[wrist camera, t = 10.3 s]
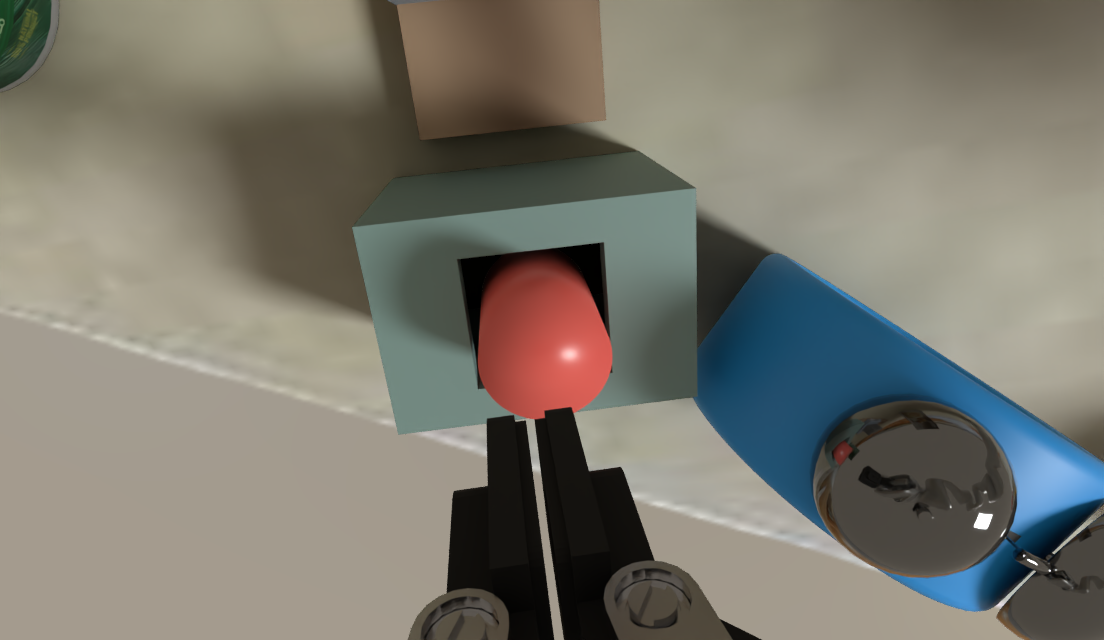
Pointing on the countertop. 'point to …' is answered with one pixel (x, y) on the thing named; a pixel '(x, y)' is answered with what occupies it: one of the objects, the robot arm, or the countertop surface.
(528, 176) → the cabinet
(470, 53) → the rail plank
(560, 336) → the plunger
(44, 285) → the countertop surface
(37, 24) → the canned tomato
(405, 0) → the carriage
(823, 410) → the alarm clock
